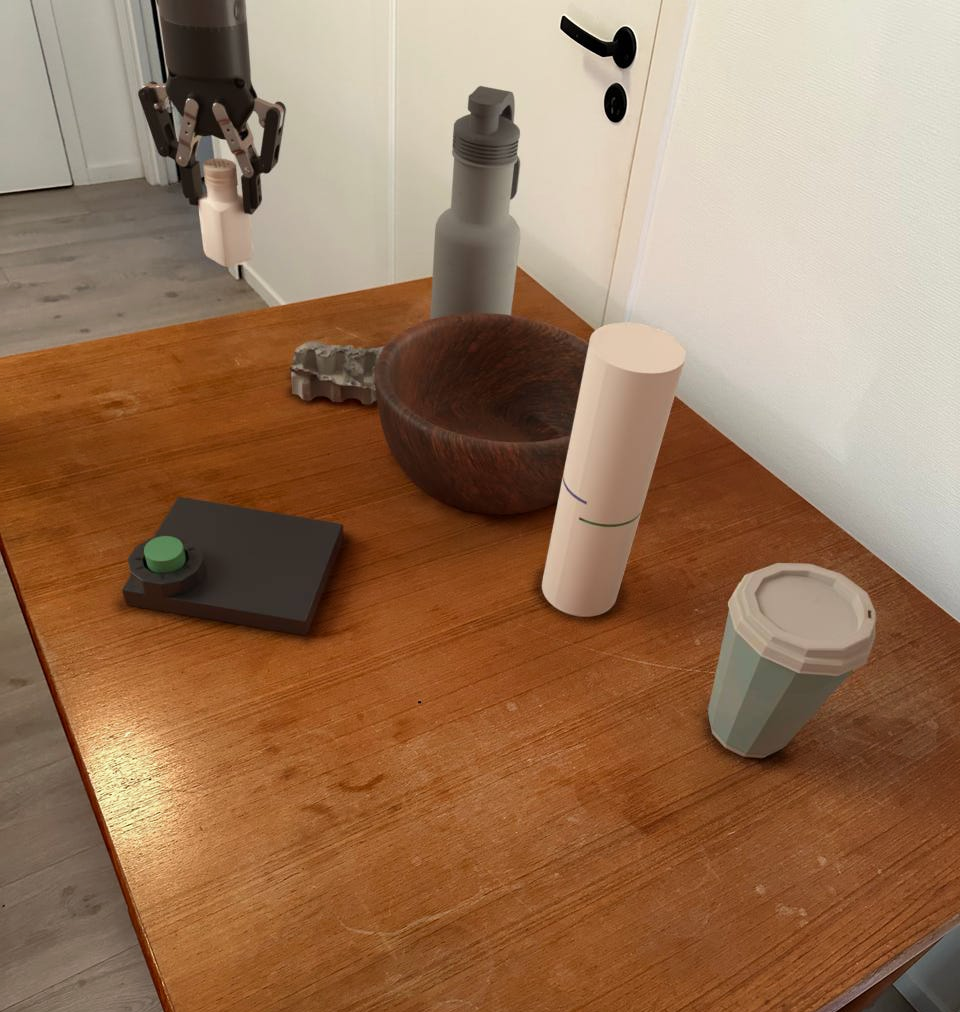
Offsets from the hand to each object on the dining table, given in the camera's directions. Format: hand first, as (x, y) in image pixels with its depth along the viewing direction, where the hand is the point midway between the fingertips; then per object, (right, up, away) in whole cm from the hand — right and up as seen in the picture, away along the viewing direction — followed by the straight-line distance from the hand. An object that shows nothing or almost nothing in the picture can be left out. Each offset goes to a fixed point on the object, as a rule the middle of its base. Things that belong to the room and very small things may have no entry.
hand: (223, 206), depth 92 cm
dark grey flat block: (+4, -38, -10) cm, 40 cm away
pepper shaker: (-1, -4, +4) cm, 6 cm away
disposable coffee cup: (+49, -52, -17) cm, 73 cm away
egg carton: (+10, -15, +11) cm, 22 cm away
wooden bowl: (+27, -25, +5) cm, 37 cm away
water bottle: (+25, -7, +21) cm, 33 cm away
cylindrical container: (+36, -40, -8) cm, 54 cm away
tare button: (-1, -38, -15) cm, 41 cm away
